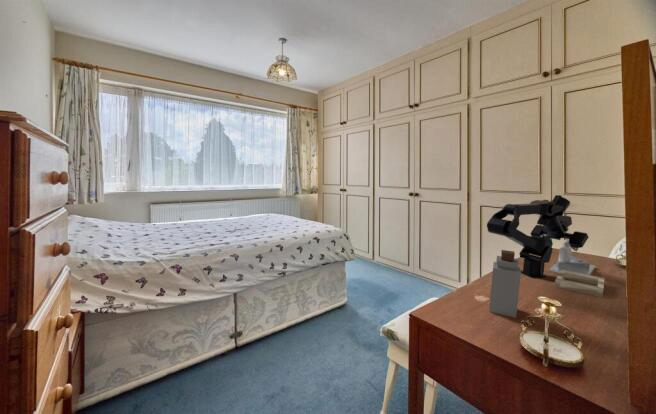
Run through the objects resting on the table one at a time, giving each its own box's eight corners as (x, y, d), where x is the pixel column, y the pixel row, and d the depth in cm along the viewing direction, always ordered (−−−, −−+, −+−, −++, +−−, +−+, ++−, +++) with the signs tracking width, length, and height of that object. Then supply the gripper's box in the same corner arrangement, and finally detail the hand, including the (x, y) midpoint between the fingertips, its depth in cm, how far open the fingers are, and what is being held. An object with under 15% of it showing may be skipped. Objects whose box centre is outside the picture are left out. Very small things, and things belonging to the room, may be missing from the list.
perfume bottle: (515, 308, 88) (521, 251, 86) (516, 318, 82) (522, 256, 80) (489, 302, 91) (494, 247, 89) (489, 311, 86) (494, 253, 83)
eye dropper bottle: (553, 263, 127) (556, 236, 126) (565, 263, 127) (569, 236, 126) (561, 266, 123) (564, 239, 121) (574, 266, 123) (578, 239, 121)
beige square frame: (602, 297, 96) (603, 290, 95) (554, 286, 105) (555, 279, 104) (603, 284, 107) (604, 278, 106) (560, 275, 116) (561, 269, 115)
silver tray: (549, 270, 121) (550, 261, 120) (560, 260, 134) (561, 252, 133) (587, 279, 112) (588, 269, 111) (594, 267, 125) (596, 258, 125)
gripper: (589, 212, 111) (600, 238, 116) (537, 206, 127) (549, 229, 133) (575, 234, 108) (587, 259, 114) (524, 225, 125) (536, 247, 131)
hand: (563, 247), depth 123 cm, fingers open, 9 cm apart
